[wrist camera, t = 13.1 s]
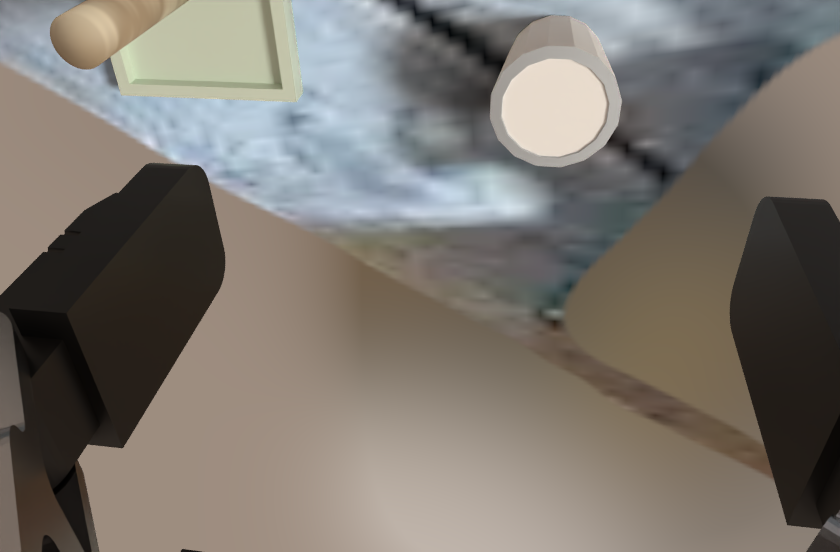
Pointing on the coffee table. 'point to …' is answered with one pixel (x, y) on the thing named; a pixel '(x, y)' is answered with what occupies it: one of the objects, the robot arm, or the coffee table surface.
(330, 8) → the coffee table surface
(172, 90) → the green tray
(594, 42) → the beige cylinder
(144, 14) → the birch pin
